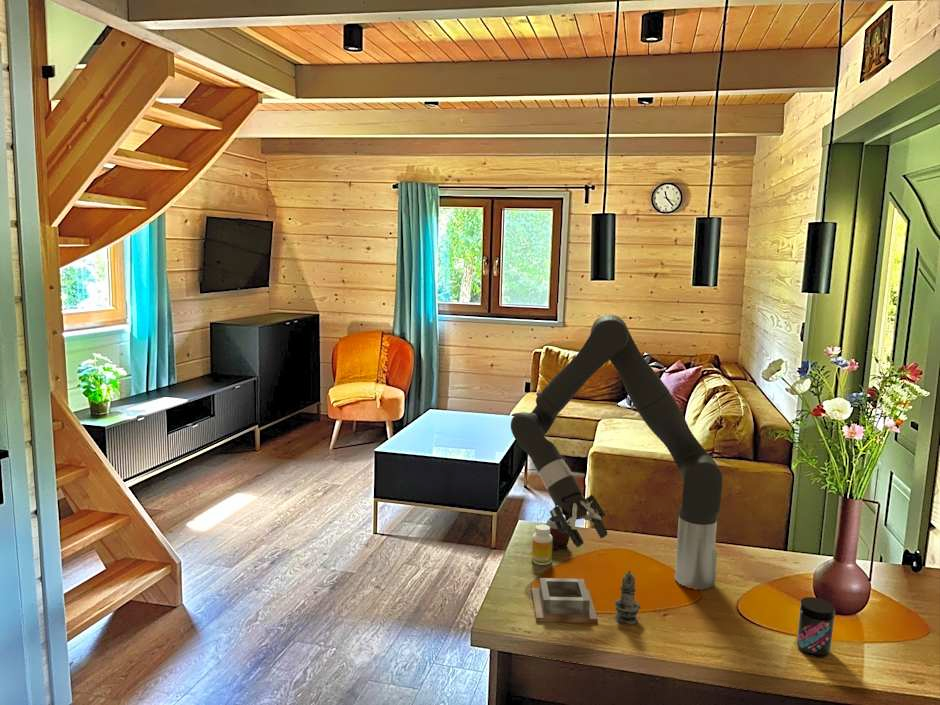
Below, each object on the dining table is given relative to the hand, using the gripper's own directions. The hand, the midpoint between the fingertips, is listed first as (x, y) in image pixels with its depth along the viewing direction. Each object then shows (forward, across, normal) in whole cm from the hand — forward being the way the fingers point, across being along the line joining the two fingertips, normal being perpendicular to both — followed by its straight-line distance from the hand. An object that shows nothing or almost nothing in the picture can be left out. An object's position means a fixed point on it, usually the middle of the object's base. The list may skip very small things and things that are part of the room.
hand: (592, 540), depth 173 cm
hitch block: (+10, -8, +12) cm, 17 cm away
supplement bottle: (-5, +6, +26) cm, 27 cm away
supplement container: (+42, +22, -20) cm, 51 cm away
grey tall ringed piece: (+19, 0, +3) cm, 19 cm away
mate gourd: (-8, +16, +30) cm, 35 cm away
